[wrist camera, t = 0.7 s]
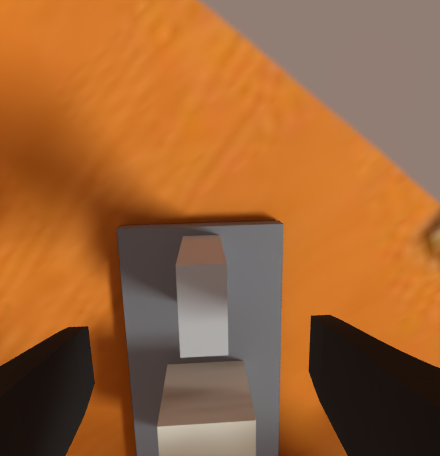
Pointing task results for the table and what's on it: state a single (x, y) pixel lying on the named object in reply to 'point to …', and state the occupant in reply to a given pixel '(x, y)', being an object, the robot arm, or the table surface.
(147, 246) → the gray plate with post
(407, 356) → the robot arm
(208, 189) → the table surface
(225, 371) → the birch block
